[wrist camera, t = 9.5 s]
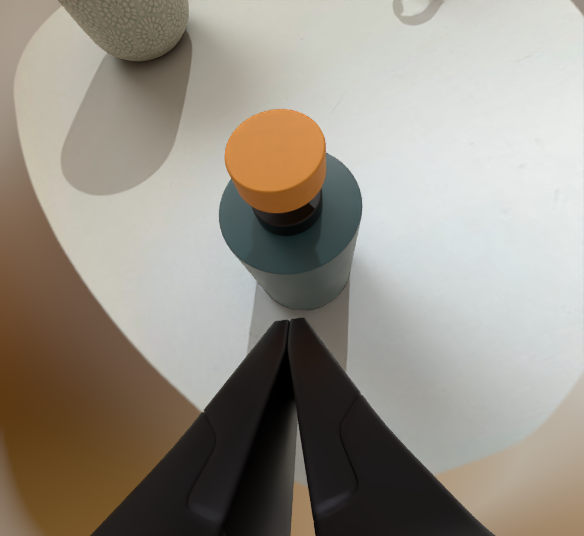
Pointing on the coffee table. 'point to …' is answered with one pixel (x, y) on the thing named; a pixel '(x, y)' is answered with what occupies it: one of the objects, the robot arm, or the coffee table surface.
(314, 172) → the orange short cylinder
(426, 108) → the coffee table surface
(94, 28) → the planter
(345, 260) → the bottle
